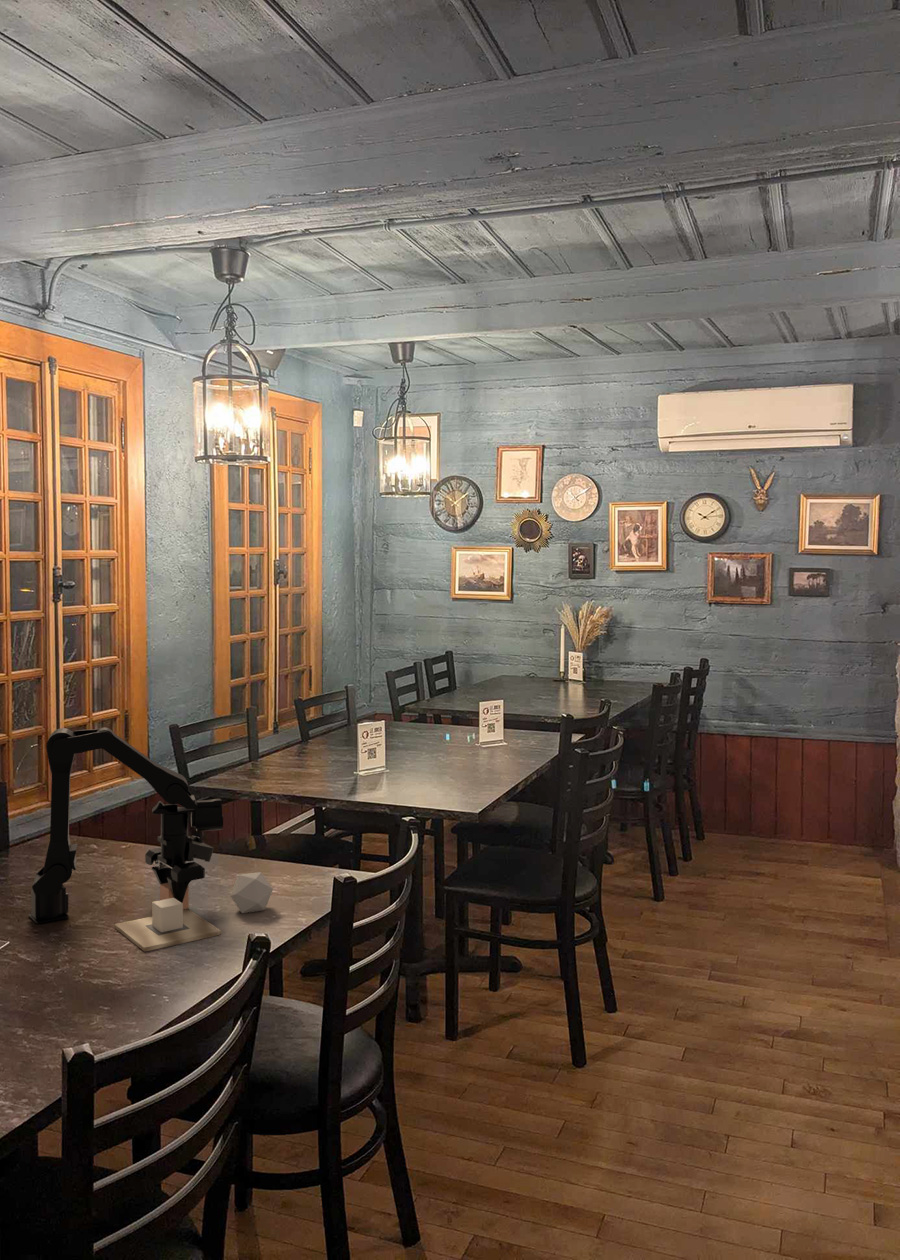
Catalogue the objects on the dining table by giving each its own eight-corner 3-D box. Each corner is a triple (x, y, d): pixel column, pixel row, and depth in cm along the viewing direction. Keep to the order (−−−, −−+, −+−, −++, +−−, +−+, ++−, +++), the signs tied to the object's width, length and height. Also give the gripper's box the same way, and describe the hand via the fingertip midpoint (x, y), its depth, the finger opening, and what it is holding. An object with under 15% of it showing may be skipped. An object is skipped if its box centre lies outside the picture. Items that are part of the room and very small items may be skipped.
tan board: (144, 951, 195) (144, 947, 195) (114, 927, 208) (114, 923, 208) (220, 934, 205) (220, 930, 205) (188, 912, 218) (188, 908, 218)
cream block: (161, 932, 203) (161, 908, 203) (152, 925, 207) (152, 901, 206) (182, 927, 206) (182, 903, 206) (173, 921, 210) (173, 897, 209)
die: (267, 904, 226) (241, 869, 226) (286, 893, 220) (260, 858, 220) (242, 926, 220) (216, 891, 220) (262, 916, 214) (235, 880, 214)
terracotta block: (168, 912, 218) (168, 889, 217) (160, 906, 221) (160, 884, 221) (188, 908, 221) (188, 885, 220) (180, 902, 224) (180, 880, 224)
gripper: (227, 836, 218) (227, 907, 219) (191, 818, 232) (191, 885, 233) (178, 844, 211) (178, 917, 212) (144, 825, 225) (144, 894, 226)
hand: (174, 902), depth 221 cm, fingers closed on terracotta block, 5 cm apart
